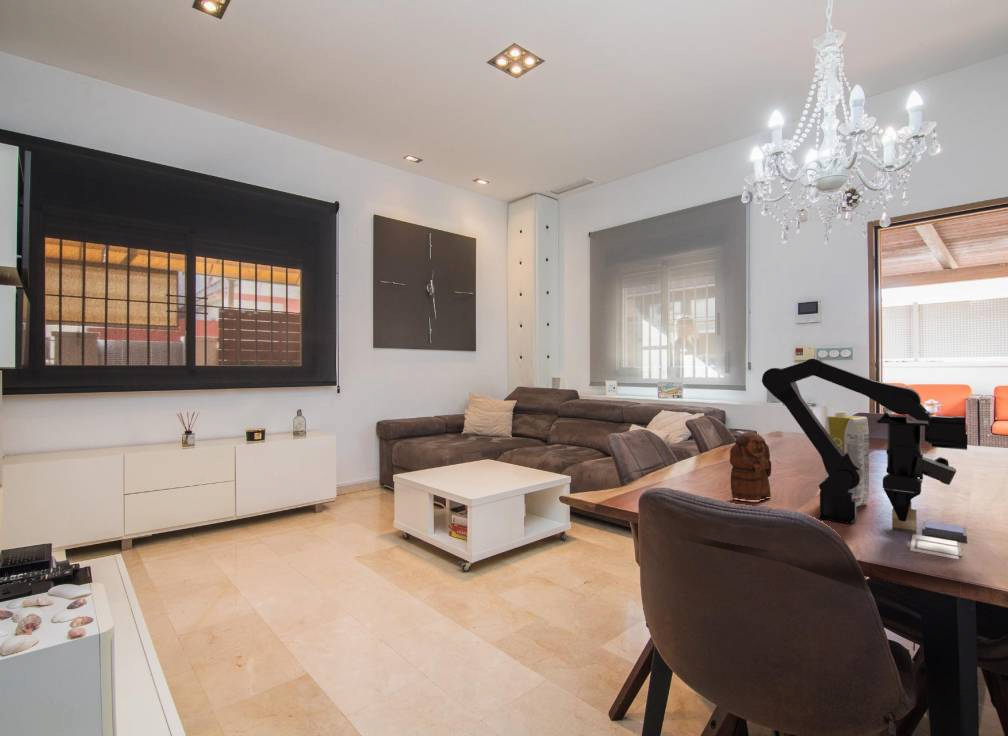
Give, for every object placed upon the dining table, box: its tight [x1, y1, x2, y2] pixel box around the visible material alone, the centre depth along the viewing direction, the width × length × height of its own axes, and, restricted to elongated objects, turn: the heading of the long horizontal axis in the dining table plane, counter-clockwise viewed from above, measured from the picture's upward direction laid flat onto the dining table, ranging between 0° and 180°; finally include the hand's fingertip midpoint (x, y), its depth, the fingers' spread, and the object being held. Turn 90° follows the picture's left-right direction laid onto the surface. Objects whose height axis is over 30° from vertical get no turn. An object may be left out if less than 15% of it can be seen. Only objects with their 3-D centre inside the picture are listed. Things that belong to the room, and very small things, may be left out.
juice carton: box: [824, 411, 870, 508], centre depth 130 cm, size 9×8×24 cm
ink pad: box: [921, 520, 968, 543], centre depth 107 cm, size 7×7×2 cm
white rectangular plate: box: [909, 534, 962, 560], centre depth 99 cm, size 7×12×1 cm, turn 139°
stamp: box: [891, 501, 918, 535], centre depth 109 cm, size 4×4×6 cm
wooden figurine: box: [729, 432, 772, 500], centre depth 135 cm, size 12×6×18 cm, turn 119°
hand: (903, 516), depth 109 cm, fingers open, 9 cm apart
